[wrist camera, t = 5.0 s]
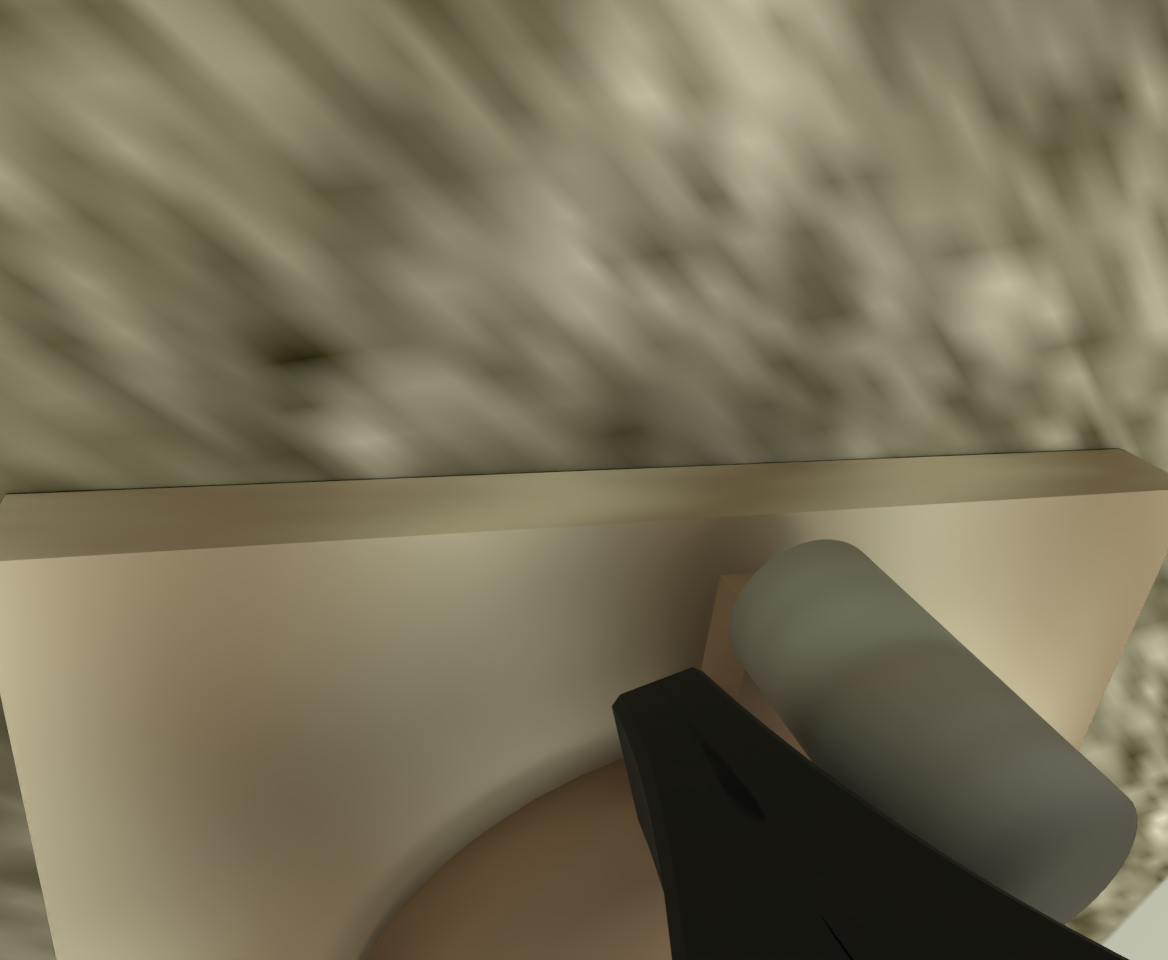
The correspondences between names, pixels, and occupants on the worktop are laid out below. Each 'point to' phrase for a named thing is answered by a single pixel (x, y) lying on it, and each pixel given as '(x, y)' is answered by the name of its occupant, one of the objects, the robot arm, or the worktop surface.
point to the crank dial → (827, 738)
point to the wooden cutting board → (460, 659)
